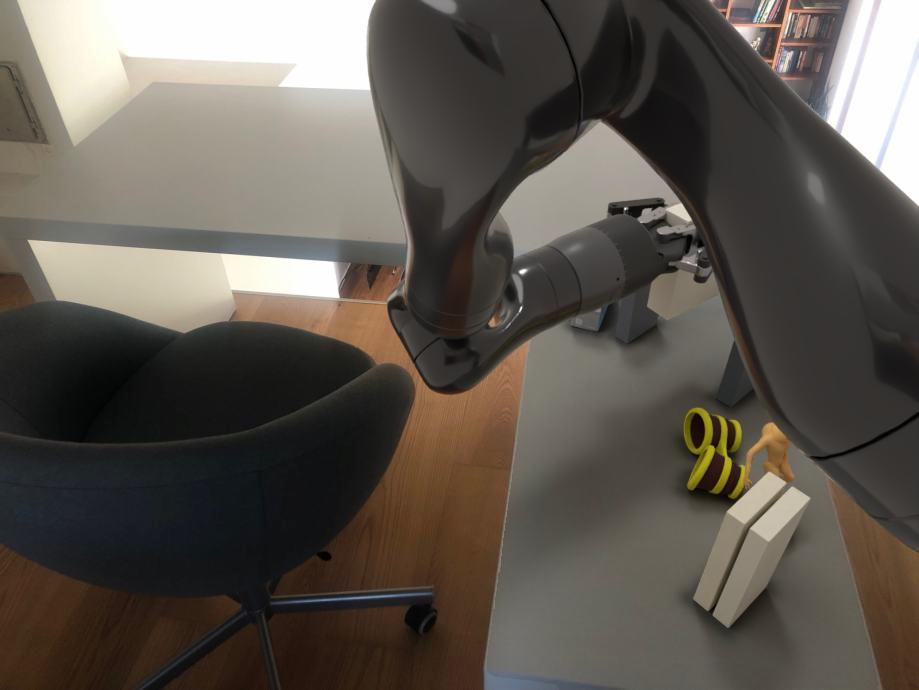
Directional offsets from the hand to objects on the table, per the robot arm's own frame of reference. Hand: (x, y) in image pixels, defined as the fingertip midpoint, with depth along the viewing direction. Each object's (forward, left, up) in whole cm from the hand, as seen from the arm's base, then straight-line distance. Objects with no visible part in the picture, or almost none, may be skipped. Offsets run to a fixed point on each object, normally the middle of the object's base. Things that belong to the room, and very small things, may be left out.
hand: (720, 212), depth 71 cm
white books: (-21, +22, -21) cm, 37 cm away
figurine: (-19, +13, -21) cm, 31 cm away
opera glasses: (-11, +11, -21) cm, 27 cm away
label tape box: (+14, 0, -21) cm, 26 cm away
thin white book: (0, +3, -10) cm, 10 cm away
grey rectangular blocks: (0, -1, -21) cm, 21 cm away
